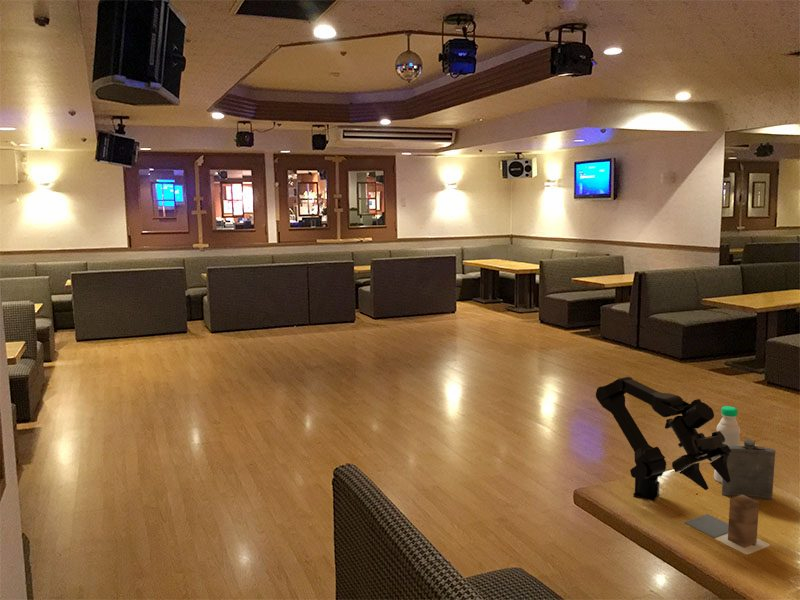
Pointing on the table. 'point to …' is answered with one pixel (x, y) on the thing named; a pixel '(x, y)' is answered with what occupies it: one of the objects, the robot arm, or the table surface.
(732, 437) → the water bottle
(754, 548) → the tile
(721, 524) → the mat
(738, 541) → the walnut pillar
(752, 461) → the flask
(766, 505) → the table surface
